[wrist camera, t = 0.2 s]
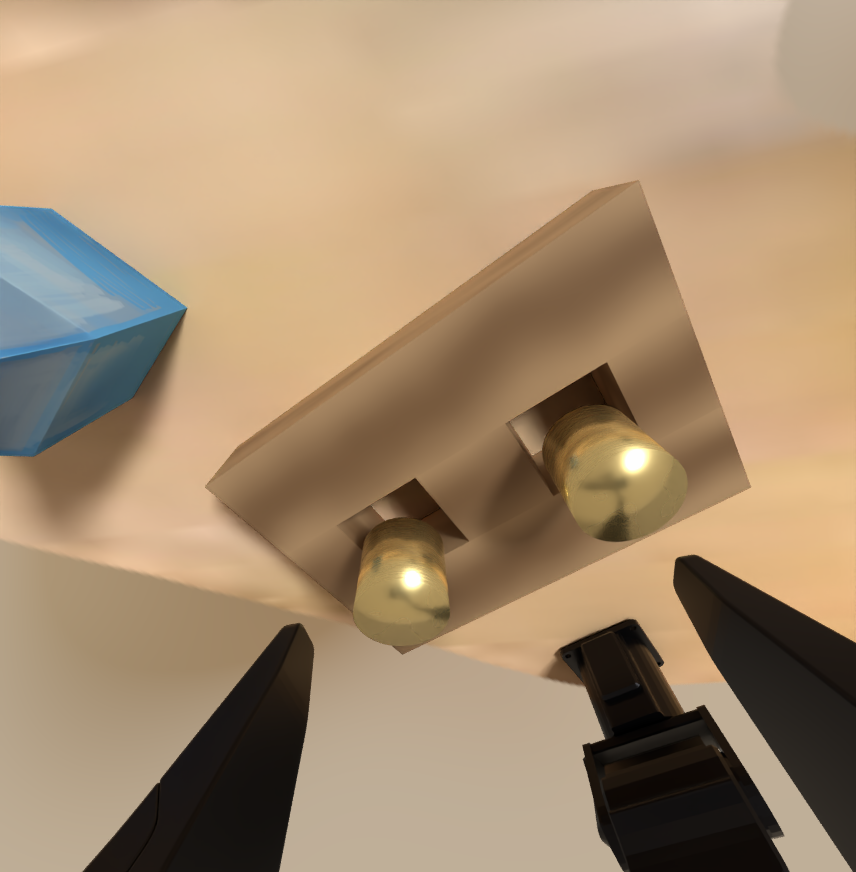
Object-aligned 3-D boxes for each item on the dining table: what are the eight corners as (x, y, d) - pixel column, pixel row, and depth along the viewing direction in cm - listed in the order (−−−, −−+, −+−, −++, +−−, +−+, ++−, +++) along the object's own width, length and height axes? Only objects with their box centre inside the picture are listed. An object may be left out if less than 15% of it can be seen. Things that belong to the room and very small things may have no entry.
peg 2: (458, 555, 20) (468, 621, 17) (395, 589, 21) (392, 657, 18) (412, 503, 18) (412, 564, 15) (346, 542, 19) (332, 608, 16)
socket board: (700, 449, 24) (750, 487, 20) (403, 602, 29) (402, 654, 25) (592, 190, 17) (638, 180, 14) (237, 446, 23) (204, 487, 19)
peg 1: (646, 455, 18) (702, 508, 14) (566, 498, 19) (599, 557, 15) (612, 386, 16) (665, 428, 13) (526, 437, 17) (554, 488, 14)
